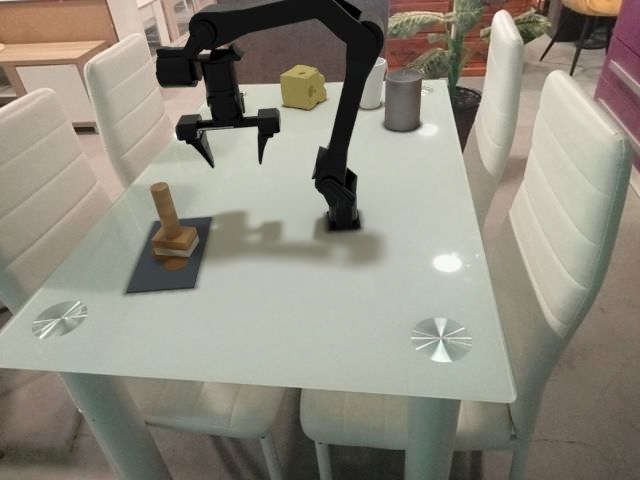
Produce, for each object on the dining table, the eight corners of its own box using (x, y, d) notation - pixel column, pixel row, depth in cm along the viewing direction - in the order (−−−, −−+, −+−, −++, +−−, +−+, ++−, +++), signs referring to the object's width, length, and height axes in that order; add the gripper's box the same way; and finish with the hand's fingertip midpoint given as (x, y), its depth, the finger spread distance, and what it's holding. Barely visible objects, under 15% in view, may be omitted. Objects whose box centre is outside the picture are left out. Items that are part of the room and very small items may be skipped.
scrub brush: (199, 241, 95) (182, 180, 87) (189, 257, 91) (170, 194, 83) (167, 239, 96) (147, 178, 88) (155, 254, 93) (134, 192, 84)
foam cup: (350, 102, 150) (348, 59, 142) (377, 97, 151) (377, 54, 144) (361, 112, 142) (360, 68, 134) (389, 107, 144) (390, 63, 136)
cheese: (327, 99, 153) (325, 67, 147) (308, 111, 146) (306, 78, 140) (300, 94, 158) (297, 63, 152) (281, 106, 151) (277, 74, 145)
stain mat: (193, 287, 85) (193, 286, 85) (126, 292, 85) (125, 291, 85) (211, 217, 102) (210, 216, 102) (155, 222, 102) (155, 220, 102)
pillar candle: (409, 114, 139) (412, 62, 130) (425, 127, 131) (429, 72, 122) (378, 121, 137) (379, 67, 128) (393, 134, 129) (394, 78, 120)
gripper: (276, 67, 90) (285, 143, 99) (177, 75, 90) (196, 150, 99) (274, 87, 81) (284, 169, 90) (164, 96, 81) (186, 177, 90)
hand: (237, 165), depth 93 cm, fingers open, 9 cm apart
